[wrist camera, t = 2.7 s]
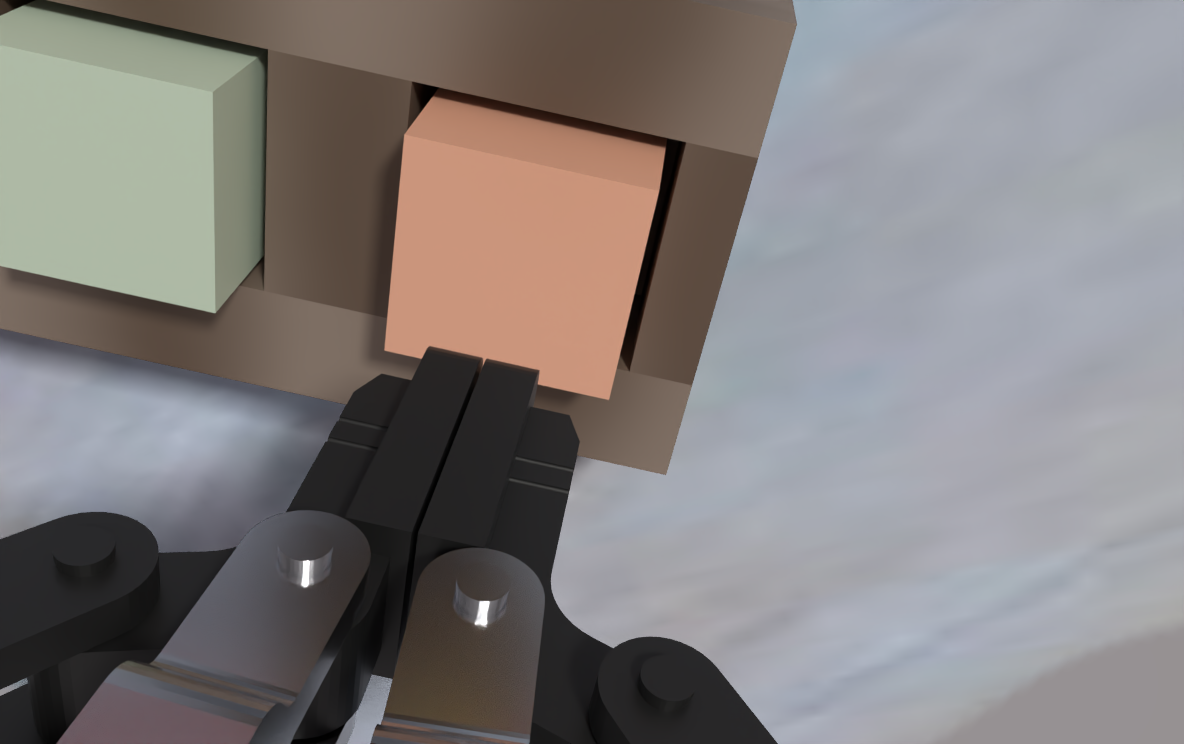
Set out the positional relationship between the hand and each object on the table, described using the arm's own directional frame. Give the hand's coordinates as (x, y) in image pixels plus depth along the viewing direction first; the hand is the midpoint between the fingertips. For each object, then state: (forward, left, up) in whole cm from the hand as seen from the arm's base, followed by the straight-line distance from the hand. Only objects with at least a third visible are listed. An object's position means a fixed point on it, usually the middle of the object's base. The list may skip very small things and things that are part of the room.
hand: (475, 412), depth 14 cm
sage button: (-7, 0, -7) cm, 10 cm away
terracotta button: (0, 0, -7) cm, 7 cm away
